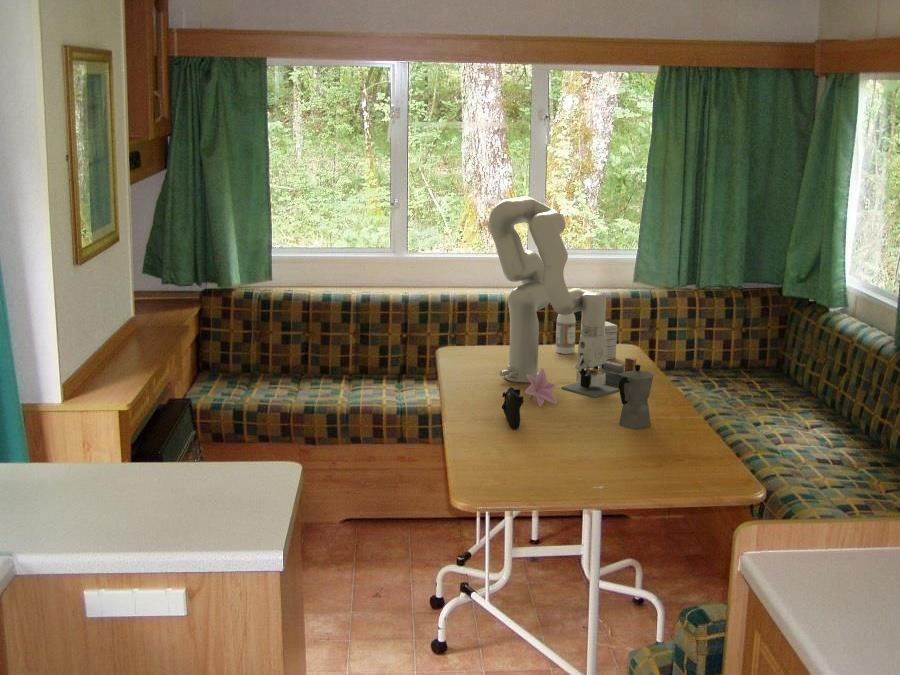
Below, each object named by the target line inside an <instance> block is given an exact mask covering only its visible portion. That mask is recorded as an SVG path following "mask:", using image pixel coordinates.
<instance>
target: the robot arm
mask: <svg viewBox="0 0 900 675" xmlns="http://www.w3.org/2000/svg"><path fill="white" fill-rule="evenodd" d="M523 223H524V224H528V229H529V232H530V235H531V237H532V239H533V242H534V245H535V247H536V249H537V252H538V253H536V252H535V251H533V250H530V249H524V246H523V244H522V243H523V242H522V240H521V237H520V235H519V233H518V231H517V230H516V229H515V225H519V224H523ZM488 226H489V231H490V234H491V236H492V239H493V242H494V245H495V248H496V252H497V256H498V259H499V261H500V266H501V268H502V272H503V274H504V277H505V279H506V280H508V281H509V282H512V283H517V282H521V283H522V284H521V285H518V286H516V287H515V288H513V290H511V291H510V293H509V296H508V300H507V304H508V305H507V306H508V312H509V353H508V354H509V358H508V361H509V362H508V365H507V367H506V369H503V370H500V371H499V376H500V377H504V378H505V380H508V381H509V382H513V383H530V381H529V379H528V377H527V375H526V374H528V375H531V376H533V377H535V378H537V376H538V374H539V372H540V371H538V366H539V364H538V363H539V362H538V361H539V338H540V337H539V336H540V333H539V331H540V324H539V318H538V314H537V311H539V310H541V309H544V308H546V307H547V306H548V305H551V306H552V308H553V310H554V311H555V313H556V314H557V315H559V314H560V315H569V314H572V313H574V314H575V313H577V312H581V321H580V322H581V325H580V337H579V342H578V347H577V348H578V349H577V363H576V364H575V369H576V371H579V372H580V375H581V387H585V388H589V383H590V376H588V375H589V371H590V368H592V367H593V368H594V369H598V370H602V368H603V367H604V364H605V363H606V362H607V361H608V360H607V339H606V334H605V321H606V312H607V295H606V294H605V293H604V292H601V291H600V292H599V291H589V290H586V289H583V288H579V287H573V288H570V289H568V287H567V284H566V281H565V277H564V276H565V274H564V270H565V266H566V264H567V261H568V257H569V253H568V250H567V249H566V247H565V244H564V241H563V239H562V236H561V235H562V234H563V232H564V231H565V228H566V221H565V219H564V217H563V215H562V214H561V213H560V212H559V211H557V210H556V209H554V208H552V207H550V206H548V205H546V204H544V203H542V202H540V201H538V200H536V199H534V198H532V197H530V196H518V197H512V198H506V199H504V200H502V201H500V202H498V203H497V204H496V205H495V206H494V207H493V208H492V210H491V212H490V214H489V219H488ZM584 368H586V371H585V369H584Z"/></svg>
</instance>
